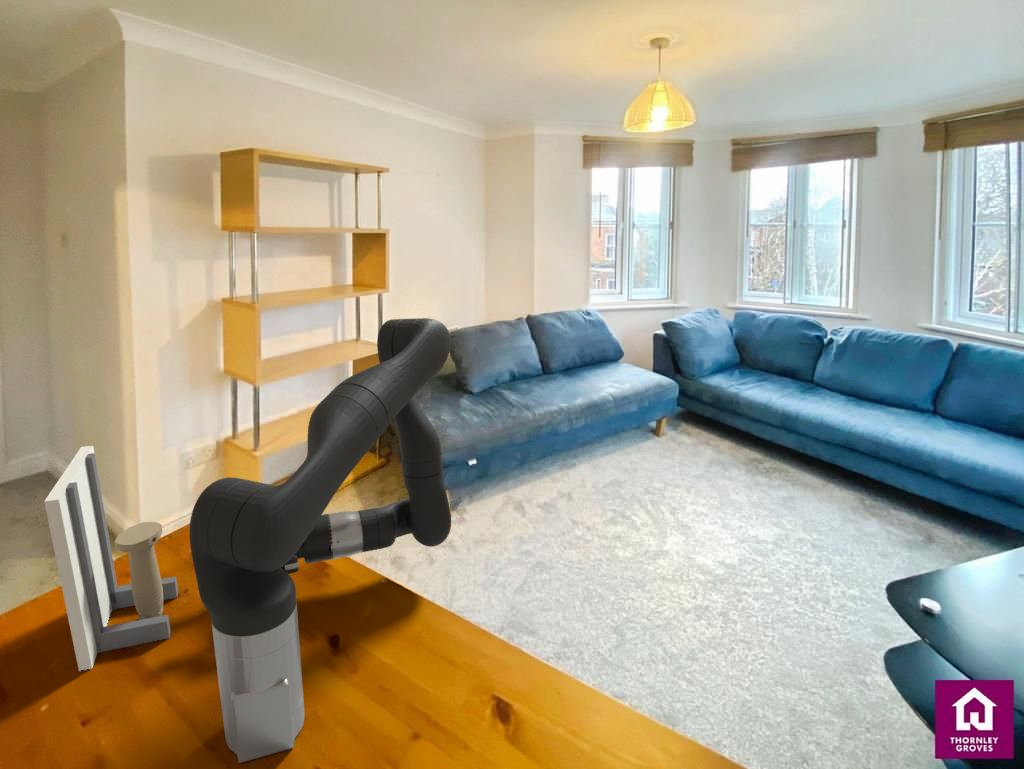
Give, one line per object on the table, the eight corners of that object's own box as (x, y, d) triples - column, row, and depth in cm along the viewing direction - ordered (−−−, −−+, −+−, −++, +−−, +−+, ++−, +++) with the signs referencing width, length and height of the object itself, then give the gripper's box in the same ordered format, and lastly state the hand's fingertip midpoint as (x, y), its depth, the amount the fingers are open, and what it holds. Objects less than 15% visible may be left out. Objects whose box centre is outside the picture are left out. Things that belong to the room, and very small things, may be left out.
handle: (121, 629, 89) (106, 542, 85) (153, 603, 96) (140, 520, 91) (150, 634, 89) (137, 546, 84) (180, 607, 95) (168, 524, 91)
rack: (166, 653, 85) (141, 489, 78) (79, 671, 81) (44, 501, 74) (180, 580, 101) (160, 439, 94) (107, 593, 97) (81, 446, 90)
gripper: (326, 496, 105) (225, 510, 99) (336, 538, 93) (221, 557, 86) (328, 533, 107) (229, 550, 101) (338, 579, 95) (226, 601, 89)
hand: (225, 553), depth 94 cm, fingers open, 8 cm apart
